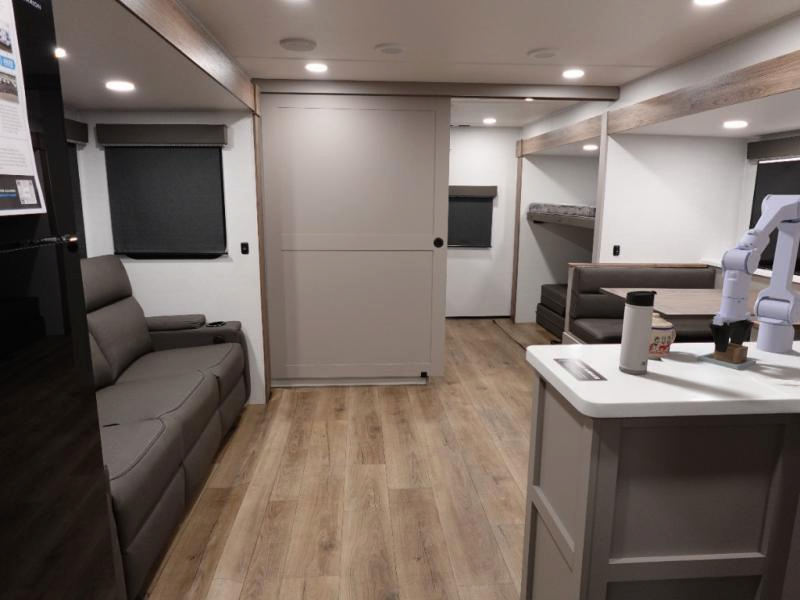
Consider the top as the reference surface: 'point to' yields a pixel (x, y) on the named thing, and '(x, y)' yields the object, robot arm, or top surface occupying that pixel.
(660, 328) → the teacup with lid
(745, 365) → the tray
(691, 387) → the top surface
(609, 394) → the top surface
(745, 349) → the brown wooden cube
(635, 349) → the travel mug
